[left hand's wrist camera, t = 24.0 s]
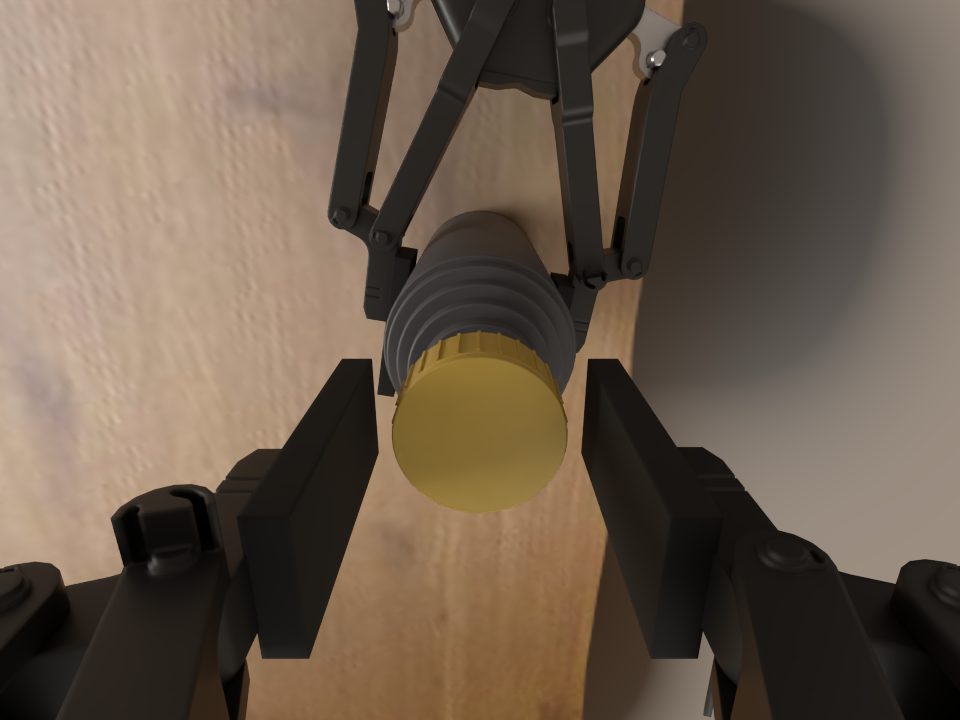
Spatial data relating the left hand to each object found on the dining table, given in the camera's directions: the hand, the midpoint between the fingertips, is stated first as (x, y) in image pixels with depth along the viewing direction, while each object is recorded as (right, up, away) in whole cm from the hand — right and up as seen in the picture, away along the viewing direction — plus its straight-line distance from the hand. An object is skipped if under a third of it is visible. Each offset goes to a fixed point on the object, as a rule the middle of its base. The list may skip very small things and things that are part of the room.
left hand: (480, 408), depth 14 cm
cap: (0, -1, -1) cm, 1 cm away
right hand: (-1, -1, +13) cm, 13 cm away
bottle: (0, +6, +17) cm, 18 cm away
